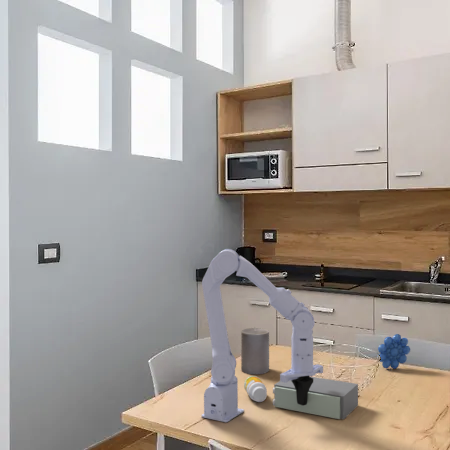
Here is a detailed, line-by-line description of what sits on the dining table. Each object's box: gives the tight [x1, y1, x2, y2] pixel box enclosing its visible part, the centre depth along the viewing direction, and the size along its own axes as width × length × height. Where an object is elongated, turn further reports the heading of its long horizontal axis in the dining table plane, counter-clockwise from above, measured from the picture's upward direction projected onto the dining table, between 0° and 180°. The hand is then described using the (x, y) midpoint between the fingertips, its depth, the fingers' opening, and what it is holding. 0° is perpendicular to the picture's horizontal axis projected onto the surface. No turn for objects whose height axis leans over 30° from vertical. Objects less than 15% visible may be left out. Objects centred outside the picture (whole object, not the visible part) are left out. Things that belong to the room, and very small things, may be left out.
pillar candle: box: [240, 327, 270, 375], centre depth 184 cm, size 10×10×15 cm
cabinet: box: [273, 376, 359, 420], centre depth 150 cm, size 12×20×6 cm, turn 58°
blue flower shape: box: [377, 333, 411, 369], centre depth 186 cm, size 12×7×12 cm, turn 94°
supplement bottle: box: [243, 375, 268, 403], centre depth 156 cm, size 5×5×10 cm
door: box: [272, 387, 341, 420], centre depth 144 cm, size 19×1×5 cm, turn 59°
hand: (302, 404), depth 143 cm, fingers closed, pressing on door
